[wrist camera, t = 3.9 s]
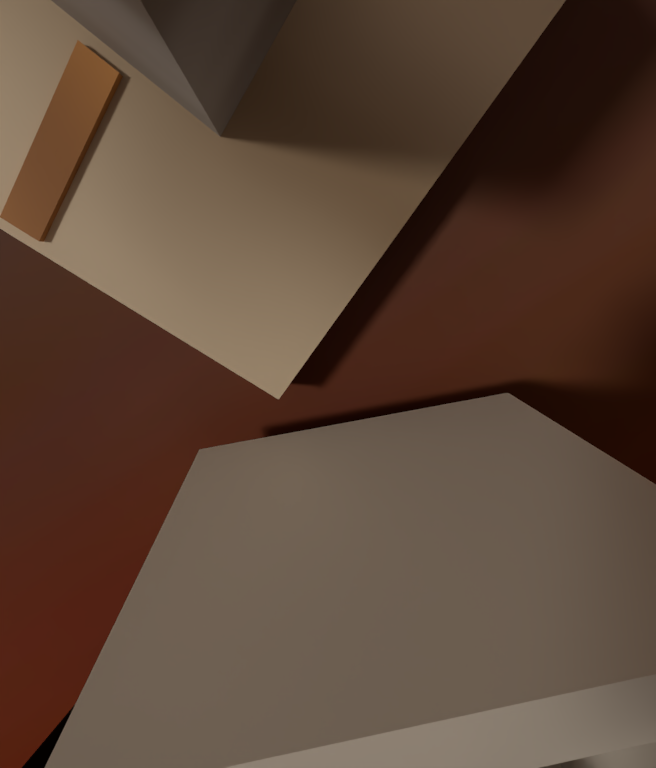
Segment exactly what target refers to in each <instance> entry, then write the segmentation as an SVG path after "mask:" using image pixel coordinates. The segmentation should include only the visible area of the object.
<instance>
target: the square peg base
mask: <svg viewBox="0 0 656 768" xmlns="http://www.w3.org/2000/svg"><path fill="white" fill-rule="evenodd" d="M565 1H566V0H0V229H2V230H3V231H5V232H7V233H8V234H10V235H12V236H13V237H15V238H16V239H18V240H20V241H21V242H23V243H25V244H26V245H28V246H29V247H31V248H33V249H34V250H36V251H38V252H39V253H41V254H42V255H44V256H46V257H47V258H49V259H51V260H52V261H54V262H55V263H57V264H59V265H60V266H62V267H64V268H65V269H67V270H69V271H70V272H72V273H73V274H75V275H77V276H78V277H80V278H82V279H83V280H85V281H86V282H88V283H90V284H91V285H93V286H95V287H96V288H98V289H99V290H101V291H103V292H104V293H106V294H108V295H109V296H111V297H112V298H114V299H116V300H117V301H119V302H121V303H122V304H124V305H126V306H127V307H129V308H130V309H132V310H134V311H135V312H137V313H139V314H140V315H142V316H143V317H145V318H147V319H148V320H150V321H152V322H153V323H155V324H156V325H158V326H160V327H161V328H163V329H165V330H166V331H168V332H169V333H171V334H173V335H174V336H176V337H178V338H179V339H181V340H183V341H184V342H186V343H187V344H189V345H191V346H192V347H194V348H196V349H197V350H199V351H200V352H202V353H204V354H205V355H207V356H209V357H210V358H212V359H213V360H215V361H217V362H218V363H220V364H222V365H223V366H225V367H226V368H228V369H230V370H231V371H233V372H235V373H236V374H238V375H239V376H241V377H243V378H244V379H246V380H248V381H249V382H251V383H253V384H254V385H256V386H257V387H259V388H261V389H262V390H264V391H266V392H267V393H269V394H270V395H272V396H274V397H275V398H277V399H279V398H280V397H281V396H282V394H283V393H284V391H285V390H286V389H287V387H288V386H289V384H290V383H291V382H292V380H293V379H294V377H295V376H296V375H297V373H298V372H299V370H300V369H301V368H302V366H303V365H304V364H305V362H306V361H307V359H308V358H309V357H310V355H311V354H312V352H313V351H314V350H315V348H316V347H317V345H318V344H319V343H320V341H321V340H322V339H323V337H324V336H325V334H326V333H327V332H328V330H329V329H330V327H331V326H332V325H333V323H334V322H335V320H336V319H337V318H338V316H339V315H340V314H341V312H342V311H343V309H344V308H345V307H346V305H347V304H348V302H349V301H350V300H351V298H352V297H353V295H354V294H355V293H356V291H357V290H358V288H359V287H360V286H361V284H362V283H363V282H364V280H365V279H366V277H367V276H368V275H369V273H370V272H371V270H372V269H373V268H374V266H375V265H376V263H377V262H378V261H379V259H380V258H381V257H382V255H383V254H384V252H385V251H386V250H387V248H388V247H389V245H390V244H391V243H392V241H393V240H394V238H395V237H396V236H397V234H398V233H399V232H400V230H401V229H402V227H403V226H404V225H405V223H406V222H407V220H408V219H409V218H410V216H411V215H412V213H413V212H414V211H415V209H416V208H417V206H418V205H419V204H420V202H421V201H422V200H423V198H424V197H425V195H426V194H427V193H428V191H429V190H430V188H431V187H432V186H433V184H434V183H435V181H436V180H437V179H438V177H439V176H440V175H441V173H442V172H443V170H444V169H445V168H446V166H447V165H448V163H449V162H450V161H451V159H452V158H453V156H454V155H455V154H456V152H457V151H458V149H459V148H460V147H461V145H462V144H463V143H464V141H465V140H466V138H467V137H468V136H469V134H470V133H471V131H472V130H473V129H474V127H475V126H476V124H477V123H478V122H479V120H480V119H481V118H482V116H483V115H484V113H485V112H486V111H487V109H488V108H489V106H490V105H491V104H492V102H493V101H494V99H495V98H496V97H497V95H498V94H499V93H500V91H501V90H502V88H503V87H504V86H505V84H506V83H507V81H508V80H509V79H510V77H511V76H512V74H513V73H514V72H515V70H516V69H517V67H518V66H519V65H520V63H521V62H522V61H523V59H524V58H525V56H526V55H527V54H528V52H529V51H530V49H531V48H532V47H533V45H534V44H535V42H536V41H537V40H538V38H539V37H540V36H541V34H542V33H543V31H544V30H545V29H546V27H547V26H548V24H549V23H550V22H551V20H552V19H553V17H554V16H555V15H556V13H557V12H558V11H559V9H560V8H561V6H562V5H563V4H564V2H565Z"/></svg>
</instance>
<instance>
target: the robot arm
mask: <svg viewBox="0 0 656 768" xmlns="http://www.w3.org/2000/svg"><path fill="white" fill-rule="evenodd" d="M74 706H75V705H74ZM74 706H73V707H72V709H71V710H70V711H69V712H68V713H67V715H66V716H65V717H64V718H63V719H62V721H61V722H60V723H59V724H58V725H57V727H56V728H55V729H54V730H53V731H52V732H51V734H50V735H49V736H48V737H47V738H46V740H45V741H44V742H43V743H42V744H41V746H40V747H39V748H38V749H37V750H36V751H35V753H34V754H33V755H32V756H31V757H30V759H29V760H28V761H27V762H26V763H25V765H24V766H23V767H22V768H45V766H46V764H47V762H48V759H49V757H50V755H51V753H52V751H53V749H54V747H55V745H56V743H57V741H58V739H59V737H60V735H61V733H62V731H63V729H64V727H65V725H66V723H67V720H68V718H69V716H70V714H71V712H72V710H73V708H74Z"/></svg>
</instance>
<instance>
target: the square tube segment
mask: <svg viewBox="0 0 656 768" xmlns="http://www.w3.org/2000/svg"><path fill="white" fill-rule="evenodd" d="M45 768H656V484H654V483H653V482H651V481H649V480H648V479H646V478H644V477H643V476H641V475H640V474H638V473H636V472H635V471H633V470H632V469H630V468H628V467H627V466H625V465H624V464H622V463H620V462H619V461H617V460H616V459H614V458H612V457H611V456H609V455H607V454H606V453H604V452H603V451H601V450H599V449H598V448H596V447H595V446H593V445H591V444H590V443H588V442H587V441H585V440H583V439H582V438H580V437H579V436H577V435H575V434H574V433H572V432H570V431H569V430H567V429H566V428H564V427H562V426H561V425H559V424H558V423H556V422H554V421H553V420H551V419H550V418H548V417H546V416H545V415H543V414H542V413H540V412H538V411H537V410H535V409H533V408H532V407H530V406H529V405H527V404H525V403H524V402H522V401H521V400H519V399H517V398H516V397H514V396H513V395H511V394H509V393H503V394H498V395H493V396H487V397H482V398H476V399H471V400H465V401H460V402H455V403H449V404H444V405H438V406H433V407H427V408H422V409H417V410H411V411H406V412H400V413H395V414H389V415H384V416H379V417H373V418H368V419H362V420H357V421H351V422H346V423H341V424H335V425H330V426H324V427H319V428H313V429H308V430H303V431H297V432H292V433H286V434H281V435H275V436H270V437H264V438H259V439H254V440H248V441H243V442H237V443H232V444H226V445H221V446H216V447H210V448H205V449H199V452H198V454H197V456H196V458H195V460H194V462H193V464H192V466H191V468H190V470H189V472H188V474H187V476H186V478H185V480H184V482H183V484H182V486H181V488H180V491H179V493H178V495H177V497H176V499H175V501H174V503H173V505H172V507H171V509H170V511H169V513H168V515H167V517H166V519H165V521H164V523H163V525H162V527H161V530H160V532H159V534H158V536H157V538H156V540H155V542H154V544H153V546H152V548H151V550H150V552H149V554H148V556H147V558H146V560H145V562H144V564H143V567H142V569H141V571H140V573H139V575H138V577H137V579H136V581H135V583H134V585H133V587H132V589H131V591H130V593H129V595H128V597H127V599H126V601H125V603H124V606H123V608H122V610H121V612H120V614H119V616H118V618H117V620H116V622H115V624H114V626H113V628H112V630H111V632H110V634H109V636H108V638H107V640H106V642H105V645H104V647H103V649H102V651H101V653H100V655H99V657H98V659H97V661H96V663H95V665H94V667H93V669H92V671H91V673H90V675H89V677H88V679H87V681H86V684H85V686H84V688H83V690H82V692H81V694H80V696H79V698H78V700H77V702H76V704H75V706H74V708H73V710H72V712H71V714H70V716H69V718H68V720H67V723H66V725H65V727H64V729H63V731H62V733H61V735H60V737H59V739H58V741H57V743H56V745H55V747H54V749H53V751H52V753H51V755H50V757H49V759H48V762H47V764H46V766H45Z"/></svg>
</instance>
